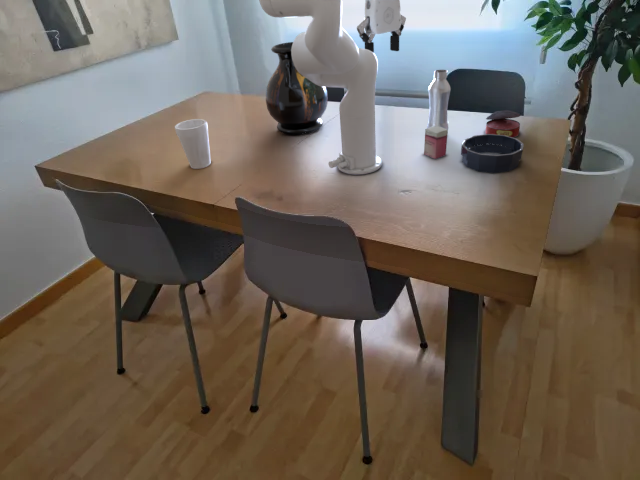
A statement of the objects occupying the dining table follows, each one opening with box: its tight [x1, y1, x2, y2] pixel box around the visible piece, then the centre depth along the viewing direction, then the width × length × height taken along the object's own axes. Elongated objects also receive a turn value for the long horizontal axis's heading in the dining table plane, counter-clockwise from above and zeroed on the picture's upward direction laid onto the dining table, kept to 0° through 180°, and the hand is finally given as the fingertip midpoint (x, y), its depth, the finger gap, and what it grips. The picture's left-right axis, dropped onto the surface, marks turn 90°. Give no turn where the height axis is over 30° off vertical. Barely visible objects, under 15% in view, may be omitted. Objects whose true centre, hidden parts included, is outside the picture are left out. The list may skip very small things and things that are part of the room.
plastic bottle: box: [426, 69, 452, 131], centre depth 137 cm, size 6×7×20 cm
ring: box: [460, 134, 525, 174], centre depth 122 cm, size 15×15×5 cm
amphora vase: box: [265, 41, 329, 136], centre depth 152 cm, size 22×22×28 cm
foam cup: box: [174, 118, 212, 170], centre depth 136 cm, size 10×9×13 cm
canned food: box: [484, 109, 521, 138], centre depth 138 cm, size 11×10×10 cm
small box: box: [423, 126, 449, 160], centre depth 128 cm, size 5×4×8 cm
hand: (382, 53), depth 129 cm, fingers open, 9 cm apart
